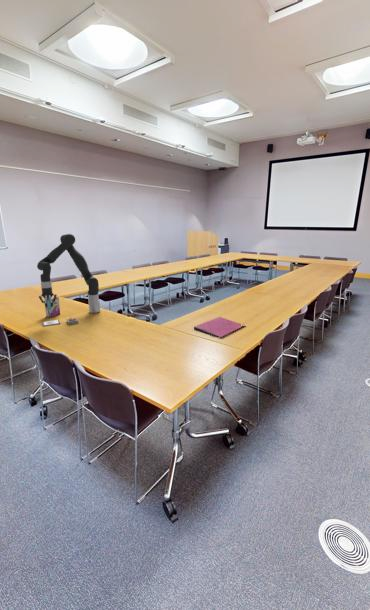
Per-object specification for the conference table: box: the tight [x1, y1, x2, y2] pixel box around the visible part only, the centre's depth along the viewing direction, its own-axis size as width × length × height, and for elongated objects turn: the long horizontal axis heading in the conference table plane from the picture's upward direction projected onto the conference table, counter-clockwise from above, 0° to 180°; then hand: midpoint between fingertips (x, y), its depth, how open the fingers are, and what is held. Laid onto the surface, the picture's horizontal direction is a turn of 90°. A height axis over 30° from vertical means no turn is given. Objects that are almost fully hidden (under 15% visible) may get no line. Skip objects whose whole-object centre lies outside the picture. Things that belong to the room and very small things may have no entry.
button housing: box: [66, 317, 79, 326], centre depth 243 cm, size 8×8×2 cm
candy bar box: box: [43, 296, 61, 318], centre depth 258 cm, size 11×5×16 cm, turn 146°
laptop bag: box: [193, 316, 244, 339], centre depth 236 cm, size 40×4×27 cm
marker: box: [46, 298, 51, 310], centre depth 236 cm, size 3×3×10 cm
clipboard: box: [41, 319, 61, 328], centre depth 241 cm, size 13×10×1 cm
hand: (49, 307), depth 237 cm, fingers closed on marker, 3 cm apart
